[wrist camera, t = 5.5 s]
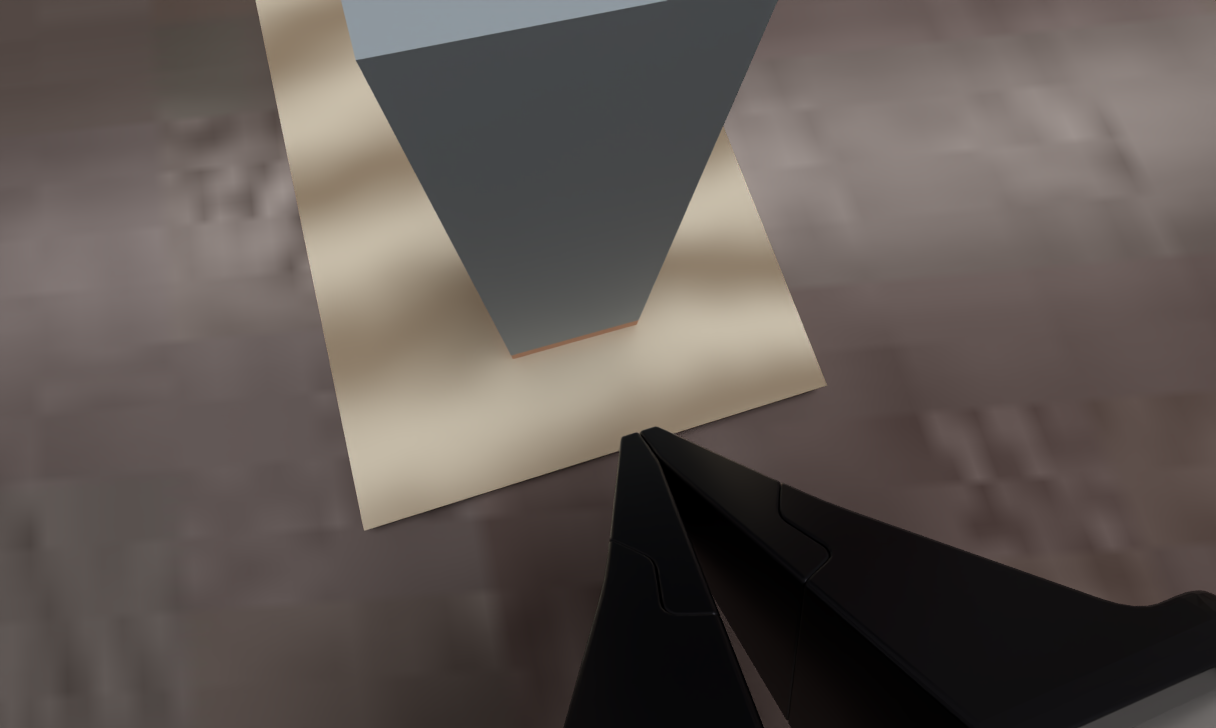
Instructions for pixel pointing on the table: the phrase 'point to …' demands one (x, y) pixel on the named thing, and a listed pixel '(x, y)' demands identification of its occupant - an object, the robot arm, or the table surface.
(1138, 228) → the table surface
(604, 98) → the pillar
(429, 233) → the board
